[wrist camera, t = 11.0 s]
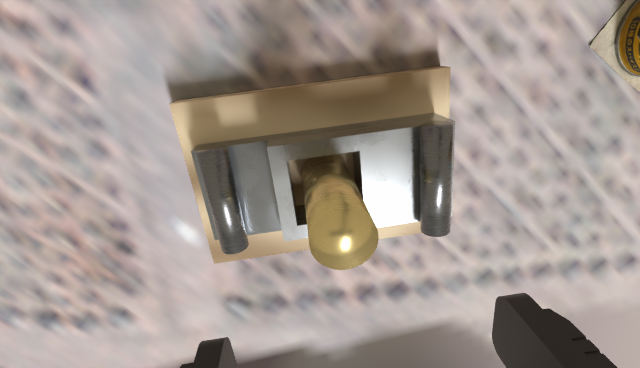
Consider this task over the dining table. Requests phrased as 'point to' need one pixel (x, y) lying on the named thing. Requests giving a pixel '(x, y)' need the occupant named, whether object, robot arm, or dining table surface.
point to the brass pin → (336, 214)
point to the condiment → (622, 42)
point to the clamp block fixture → (313, 141)
